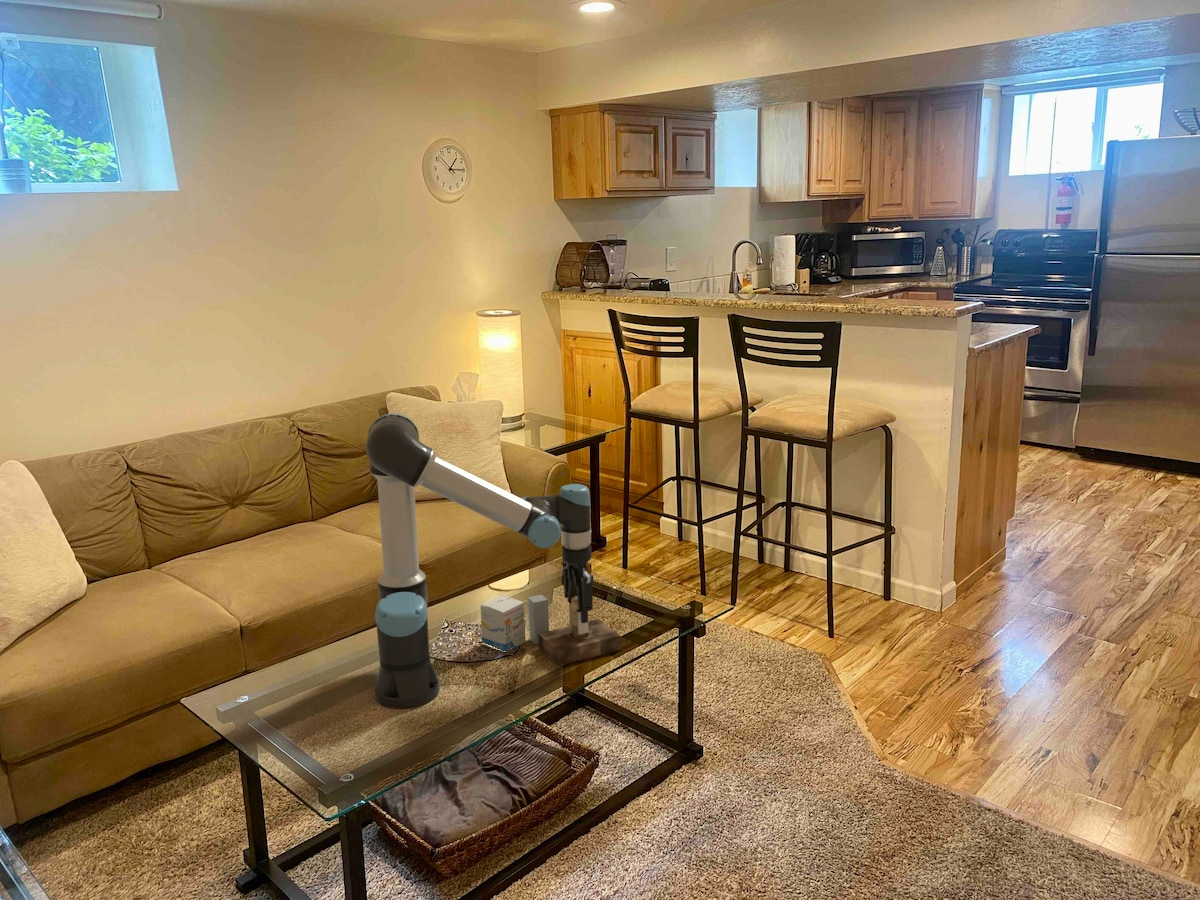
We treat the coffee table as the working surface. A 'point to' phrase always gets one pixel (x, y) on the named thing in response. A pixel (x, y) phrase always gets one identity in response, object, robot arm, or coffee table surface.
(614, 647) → the socket block
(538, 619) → the square peg
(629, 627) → the coffee table surface
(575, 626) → the oak dowel
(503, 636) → the ink box
